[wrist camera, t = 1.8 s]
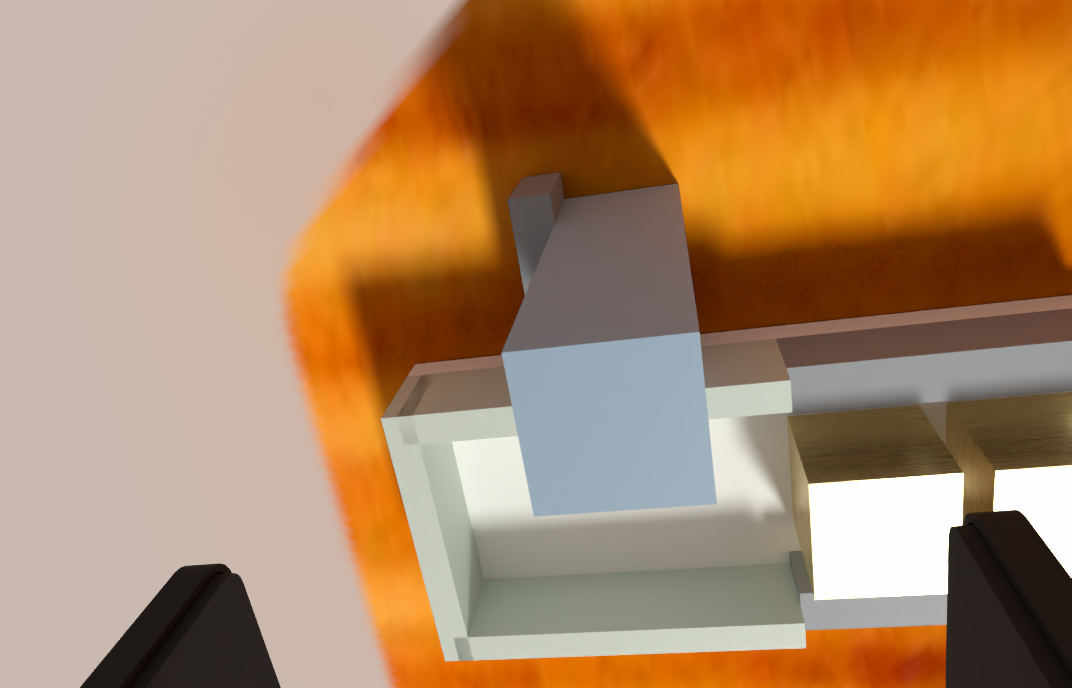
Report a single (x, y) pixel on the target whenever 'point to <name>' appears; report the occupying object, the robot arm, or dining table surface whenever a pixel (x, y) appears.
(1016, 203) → the dining table surface
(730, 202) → the dining table surface
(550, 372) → the block with small nub
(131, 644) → the robot arm
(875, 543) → the block
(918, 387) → the slot board
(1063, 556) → the block
